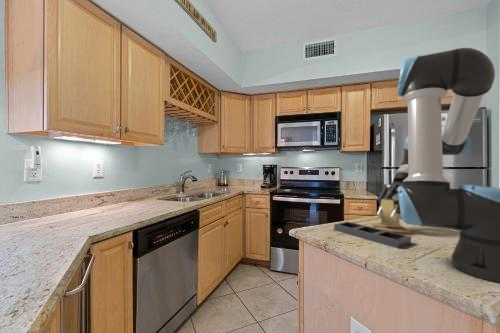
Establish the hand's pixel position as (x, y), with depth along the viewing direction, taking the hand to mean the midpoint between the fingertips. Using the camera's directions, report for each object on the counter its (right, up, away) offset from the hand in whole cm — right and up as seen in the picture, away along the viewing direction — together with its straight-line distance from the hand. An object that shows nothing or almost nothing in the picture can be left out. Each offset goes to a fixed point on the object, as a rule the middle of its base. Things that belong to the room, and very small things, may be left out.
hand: (385, 217), depth 100 cm
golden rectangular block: (+3, -4, +2) cm, 5 cm away
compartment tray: (-10, -7, -6) cm, 14 cm away
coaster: (+3, -6, +2) cm, 7 cm away
